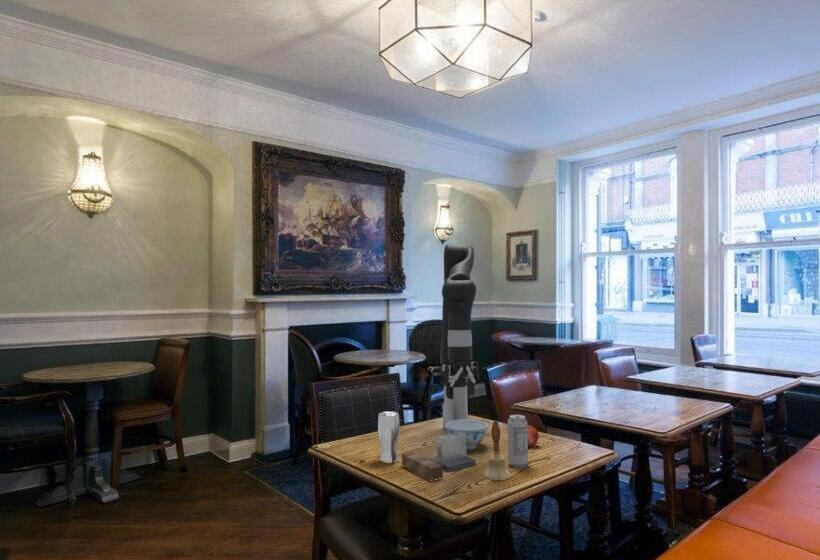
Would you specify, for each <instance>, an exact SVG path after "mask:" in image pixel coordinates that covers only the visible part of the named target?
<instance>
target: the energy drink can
mask: <svg viewBox="0 0 820 560" xmlns="http://www.w3.org/2000/svg"><path fill="white" fill-rule="evenodd" d="M527 425H528V421H527V419H526V416H525V415H522V414H510V415H509V418H508V419H507V452H508V453H507V454H508V455H507V456H508V457H507V462H508V463H509V464H510V466H511V467H513V466H514V468H525V467H526V466H527V464H529V456H528V455H529V453H528V452H529V451H528V449H529V448H528V447H529V446H528V436H527Z"/></svg>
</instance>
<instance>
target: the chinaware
mask: <svg viewBox="0 0 820 560" xmlns="http://www.w3.org/2000/svg"><path fill="white" fill-rule="evenodd" d="M445 426H446V430H445V431H446V433H447V435H449V434H453V433H458V432H463V433H466V450H473V449H476V448H477V446H478V444H480V443H481V442H482V441H483V440H484V439H485V437H486V435H487V433H488V429H489V423H487V422H485V421H483V420H479V419H460V420H452V421H449V422H447V423H446V424H445Z"/></svg>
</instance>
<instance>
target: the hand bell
mask: <svg viewBox="0 0 820 560" xmlns="http://www.w3.org/2000/svg"><path fill="white" fill-rule="evenodd" d="M490 432H491V439H492V441H493V454H492V455H490V456H489V457H488V464H487V468H486V469H485V470H484V471H483V473H482V476H483V478H485V477H486V479H487V478H488V479H487V480H490V479H491V480H490V481H498V480H500V481H507V480H510V479H511V478H512V473H511V472H510V471H509V470H508V468H507V466H506V459H505V457H504V455H501V453H500V439H501V428H500V425H499V422H498V420H493V421H492V426H491V431H490ZM506 479H507V480H506Z"/></svg>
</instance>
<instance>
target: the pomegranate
mask: <svg viewBox="0 0 820 560" xmlns="http://www.w3.org/2000/svg"><path fill="white" fill-rule="evenodd" d="M527 436H528V447H530V448H531V447H534V446H535V445H536V444H538V440H539V438H540V436H539V432H538V429H536V428H534V427H533V426H532V425H530V424H527Z"/></svg>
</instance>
